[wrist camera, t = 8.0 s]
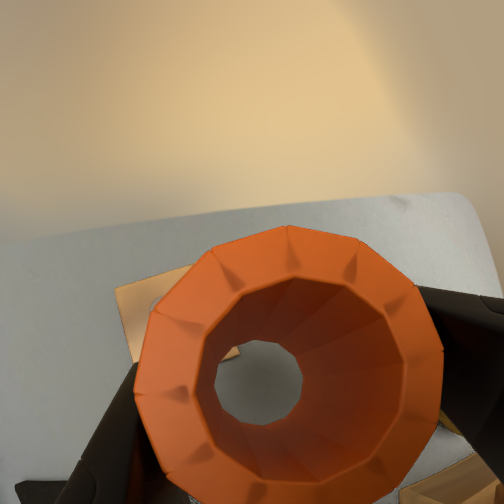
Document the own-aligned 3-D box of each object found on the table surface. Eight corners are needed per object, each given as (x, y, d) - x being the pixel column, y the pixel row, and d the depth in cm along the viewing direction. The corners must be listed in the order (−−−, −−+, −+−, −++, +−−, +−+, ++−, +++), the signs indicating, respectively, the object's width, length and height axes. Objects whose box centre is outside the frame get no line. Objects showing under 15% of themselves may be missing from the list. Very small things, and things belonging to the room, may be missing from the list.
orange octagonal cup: (343, 415, 12) (472, 432, 5) (219, 464, 11) (212, 564, 3) (295, 299, 14) (371, 198, 7) (172, 341, 13) (102, 280, 5)
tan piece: (239, 355, 20) (243, 349, 17) (142, 385, 19) (125, 385, 15) (206, 263, 23) (203, 239, 19) (116, 291, 21) (97, 273, 18)
